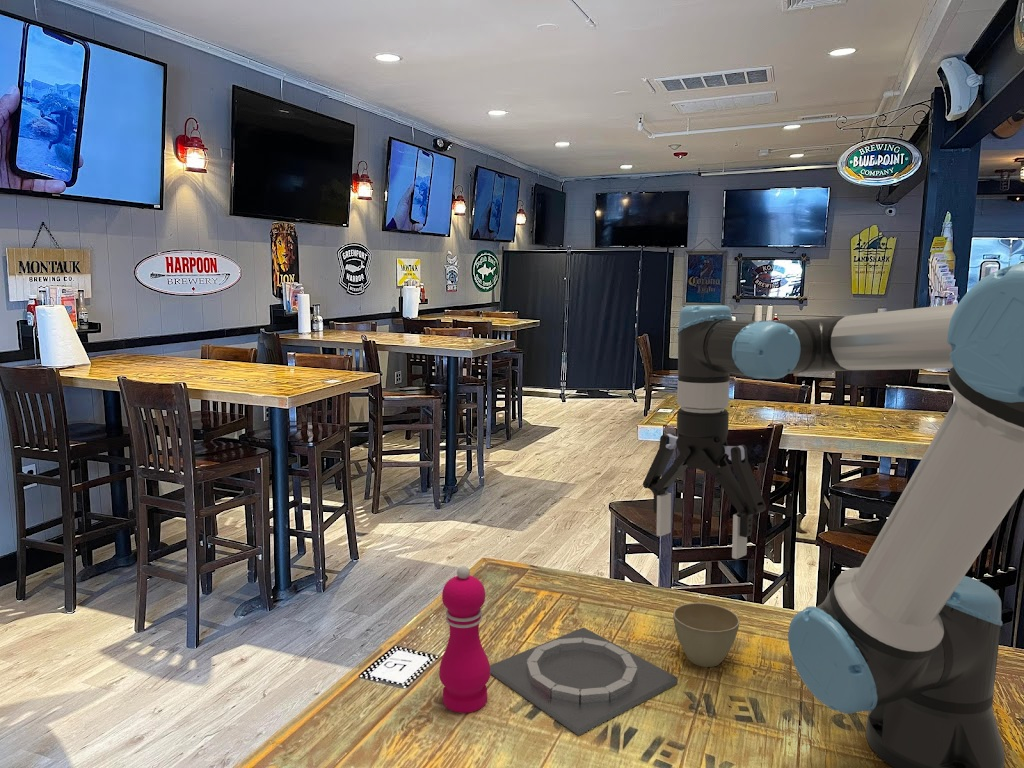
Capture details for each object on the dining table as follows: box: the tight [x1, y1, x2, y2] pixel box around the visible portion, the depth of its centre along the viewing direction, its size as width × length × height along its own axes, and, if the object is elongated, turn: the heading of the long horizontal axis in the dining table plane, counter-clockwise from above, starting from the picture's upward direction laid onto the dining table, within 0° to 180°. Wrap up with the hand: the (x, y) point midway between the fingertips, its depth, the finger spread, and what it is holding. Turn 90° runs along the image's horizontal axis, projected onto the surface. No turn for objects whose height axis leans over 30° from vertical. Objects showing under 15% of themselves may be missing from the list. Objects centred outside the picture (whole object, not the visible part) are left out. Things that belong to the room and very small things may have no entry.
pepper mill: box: [438, 565, 491, 714], centre depth 103 cm, size 7×7×20 cm
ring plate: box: [490, 627, 679, 737], centre depth 110 cm, size 20×20×2 cm
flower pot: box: [672, 602, 741, 668], centre depth 115 cm, size 10×10×7 cm
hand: (699, 544), depth 113 cm, fingers open, 13 cm apart
